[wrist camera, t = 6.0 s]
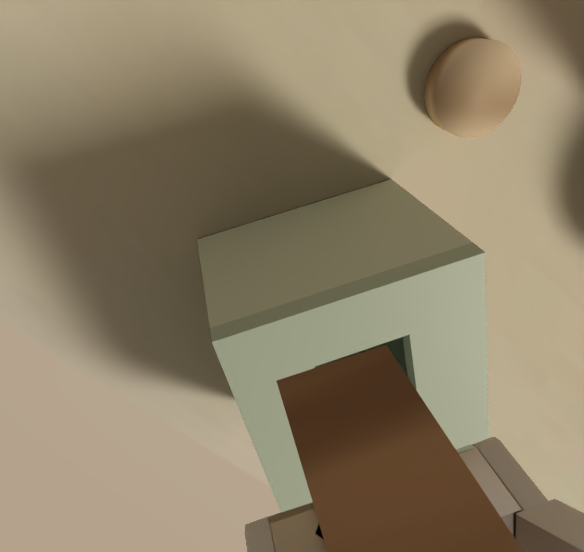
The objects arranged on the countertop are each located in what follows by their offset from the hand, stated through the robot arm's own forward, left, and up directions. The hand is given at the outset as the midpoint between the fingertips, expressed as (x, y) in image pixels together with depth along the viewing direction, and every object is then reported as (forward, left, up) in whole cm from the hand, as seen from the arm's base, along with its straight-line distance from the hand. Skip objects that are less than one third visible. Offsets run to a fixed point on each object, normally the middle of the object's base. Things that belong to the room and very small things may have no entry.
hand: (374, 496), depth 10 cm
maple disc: (-2, +14, -20) cm, 24 cm away
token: (0, 0, -2) cm, 2 cm away
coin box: (+9, +3, -20) cm, 22 cm away
